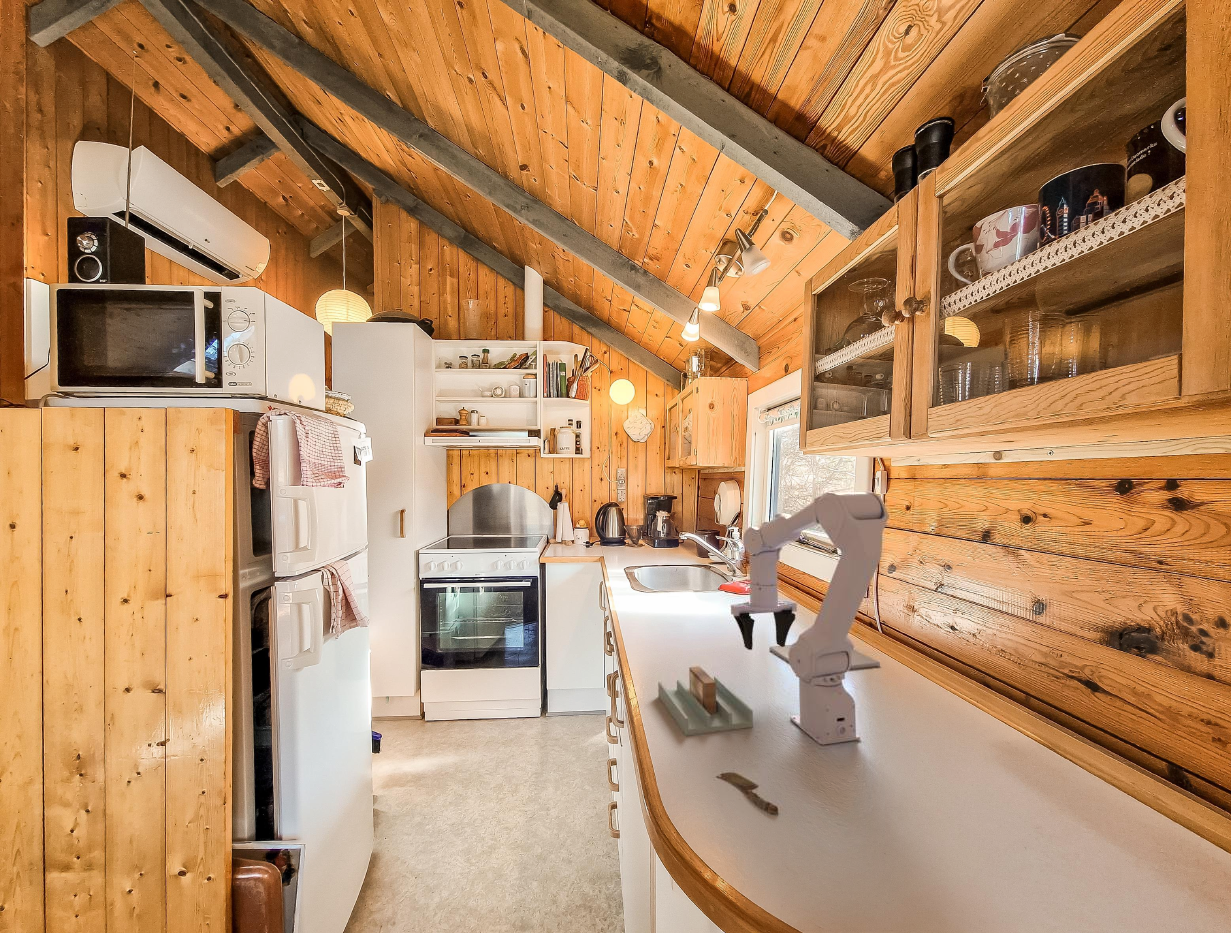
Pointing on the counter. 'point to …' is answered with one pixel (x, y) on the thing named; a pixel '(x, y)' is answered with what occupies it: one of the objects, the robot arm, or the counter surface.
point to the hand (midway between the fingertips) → (764, 646)
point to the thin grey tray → (857, 657)
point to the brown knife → (748, 790)
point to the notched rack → (696, 718)
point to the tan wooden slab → (703, 689)
